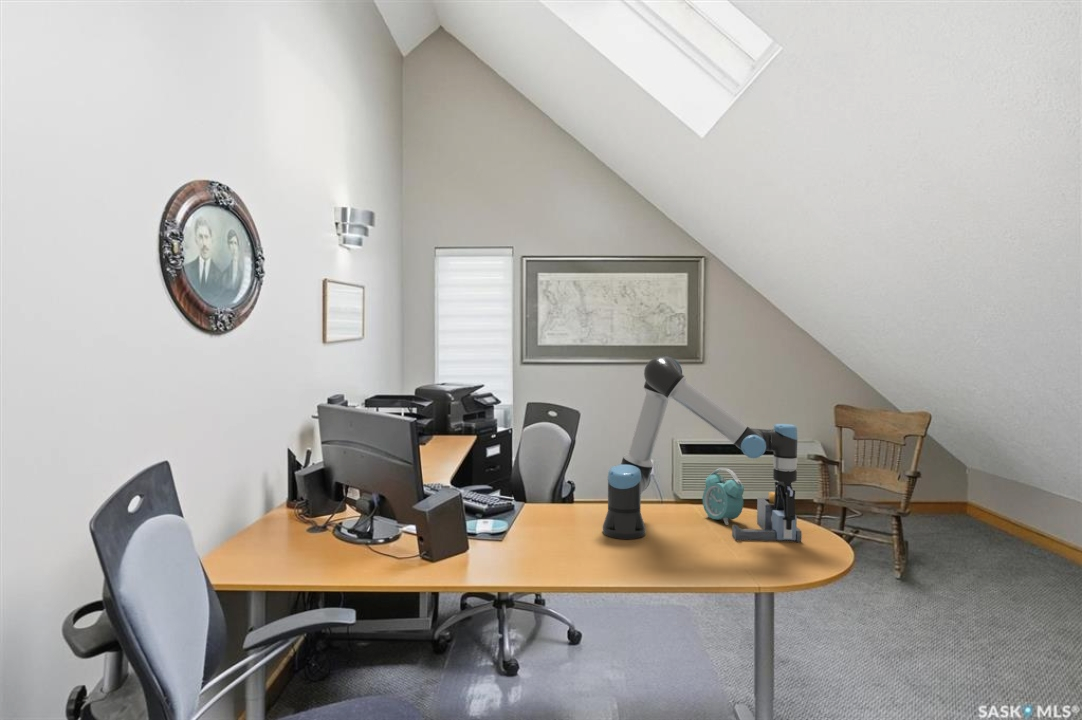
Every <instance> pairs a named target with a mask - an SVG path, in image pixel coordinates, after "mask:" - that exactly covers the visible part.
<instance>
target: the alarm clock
mask: <svg viewBox="0 0 1082 720" xmlns="http://www.w3.org/2000/svg"><path fill="white" fill-rule="evenodd" d="M721 471H725V472H728V473H729V474H730V475H731V477H732V478H731V479H728V480H727V479H726V478H725V477H724V478H723V476H721V474H718V473H719V472H721ZM704 484H705V488H704V490H703V494H702V506H703V509H704V511H705V513H706V515H707V516H706V518H708V517H709V518H711V519H712V520H723V522H724V525H726V526H728V525H730V523H729V520H735V519H737V518H738V517H740V515H741V513H742V512H743V508H744V497H743V495H744V492H745V487H744V485H743V484H742V482H741V480H740V479H739V478H738V475H737V474H736V473H735V472H734V471H733V470H732V469H730V468H725V467H719V468H717V469H715V470H714V471H712V472H710V474H709V476H707V477H706V478H705V481H704Z"/></svg>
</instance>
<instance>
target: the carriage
mask: <svg viewBox="0 0 1082 720" xmlns="http://www.w3.org/2000/svg"><path fill="white" fill-rule="evenodd" d="M783 518H785V515H784V511H782V510H772V530H775V531H776V532H777V539H778V540H796V529H797V528H798V527H797V525H798V524H797V520H798V518H797V515H796V514H795V520H792V539H784V538H783V524H784V520H783Z"/></svg>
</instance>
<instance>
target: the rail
mask: <svg viewBox="0 0 1082 720" xmlns="http://www.w3.org/2000/svg"><path fill="white" fill-rule="evenodd" d="M731 527H732V529H731V531H732V532H731V537H732V538H733V540H734V541H735V542H741V541H757V542H758V541H761V542H762V541H763V542H766V541H767V542H769V541H770V542H796V543H800V544H801V543H802V530H801V529H800V528H799V527H797V529H796V540H778V539H777V532H776V531H775V530H765V529H762V528H760V529H759V528H758V529H757V528H740V527H739V526H738V525H737V524H732V526H731Z"/></svg>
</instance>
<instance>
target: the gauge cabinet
mask: <svg viewBox="0 0 1082 720" xmlns="http://www.w3.org/2000/svg"><path fill="white" fill-rule="evenodd" d="M756 503H757V507H756V508H757V509H756V510H757V511H756V524H757V525H758V526H759V528H760V529H765V530H772V510H776V509H774V504H773V503H769V497H757V502H756Z"/></svg>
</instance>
